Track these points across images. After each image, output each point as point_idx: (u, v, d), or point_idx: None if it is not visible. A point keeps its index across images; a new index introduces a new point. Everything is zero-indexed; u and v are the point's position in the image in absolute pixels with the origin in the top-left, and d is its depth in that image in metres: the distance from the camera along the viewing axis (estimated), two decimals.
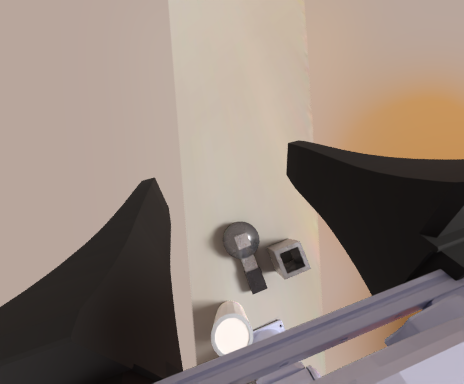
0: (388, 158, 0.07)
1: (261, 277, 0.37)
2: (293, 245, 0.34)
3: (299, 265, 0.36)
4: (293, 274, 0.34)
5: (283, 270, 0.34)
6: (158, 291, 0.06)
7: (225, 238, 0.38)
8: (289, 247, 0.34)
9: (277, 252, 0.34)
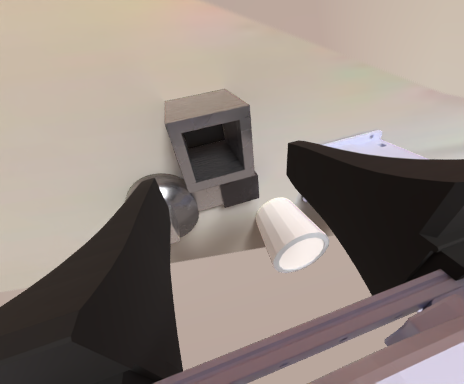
0: (388, 158, 0.07)
1: (237, 183, 0.20)
2: (177, 145, 0.12)
3: None
4: (251, 154, 0.13)
5: (235, 176, 0.14)
6: (158, 291, 0.06)
7: None
8: (182, 156, 0.12)
9: (192, 186, 0.14)
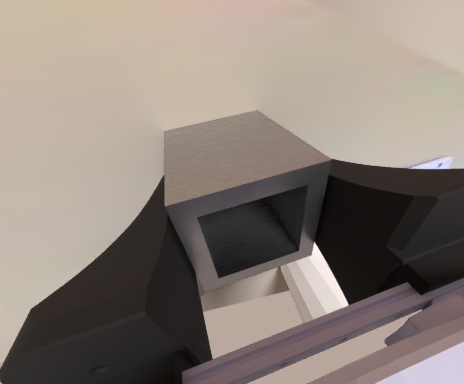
0: (362, 166, 0.06)
1: None
2: (188, 235, 0.06)
3: None
4: (313, 231, 0.08)
5: (282, 261, 0.08)
6: (189, 281, 0.06)
7: None
8: (196, 250, 0.06)
9: (211, 284, 0.08)
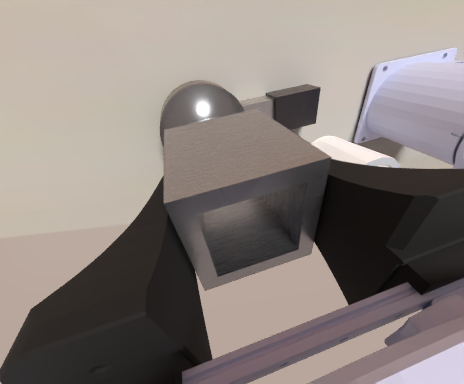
0: (362, 166, 0.06)
1: (295, 97, 0.16)
2: (187, 233, 0.06)
3: None
4: (313, 229, 0.08)
5: (281, 259, 0.08)
6: (189, 281, 0.06)
7: None
8: (196, 248, 0.06)
9: (210, 282, 0.08)
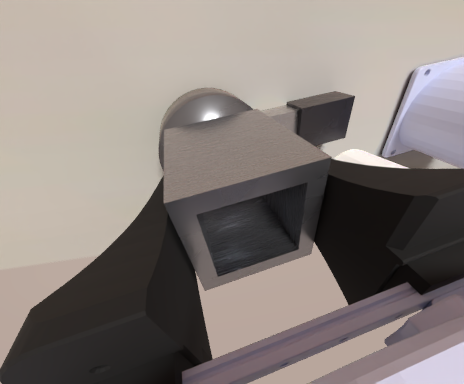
0: (362, 166, 0.06)
1: (325, 108, 0.13)
2: (187, 233, 0.06)
3: None
4: (313, 229, 0.08)
5: (281, 259, 0.08)
6: (189, 281, 0.06)
7: None
8: (196, 248, 0.06)
9: (210, 282, 0.08)
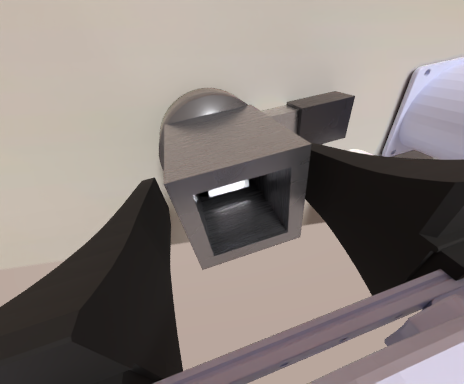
0: (388, 158, 0.07)
1: (325, 108, 0.13)
2: (185, 212, 0.07)
3: None
4: (300, 213, 0.09)
5: (272, 242, 0.09)
6: (158, 291, 0.06)
7: None
8: (193, 227, 0.07)
9: (207, 261, 0.09)
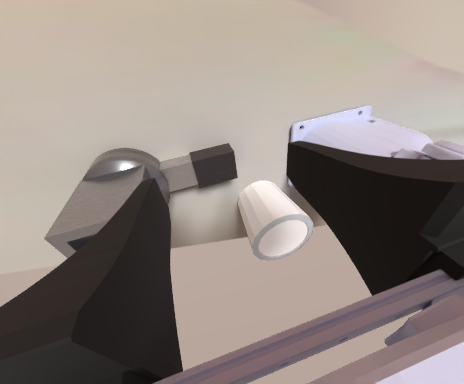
0: (388, 158, 0.07)
1: (211, 160, 0.18)
2: (65, 251, 0.11)
3: None
4: None
5: None
6: (158, 291, 0.06)
7: None
8: None
9: None
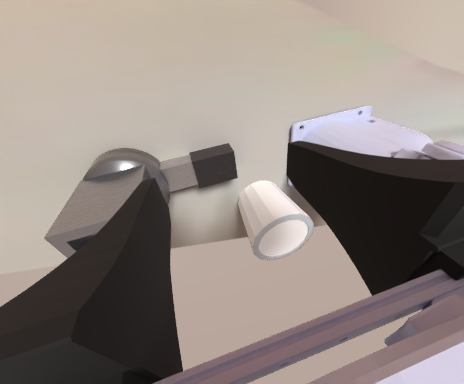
0: (388, 158, 0.07)
1: (211, 160, 0.18)
2: (65, 250, 0.12)
3: None
4: None
5: None
6: (158, 291, 0.06)
7: None
8: None
9: None
